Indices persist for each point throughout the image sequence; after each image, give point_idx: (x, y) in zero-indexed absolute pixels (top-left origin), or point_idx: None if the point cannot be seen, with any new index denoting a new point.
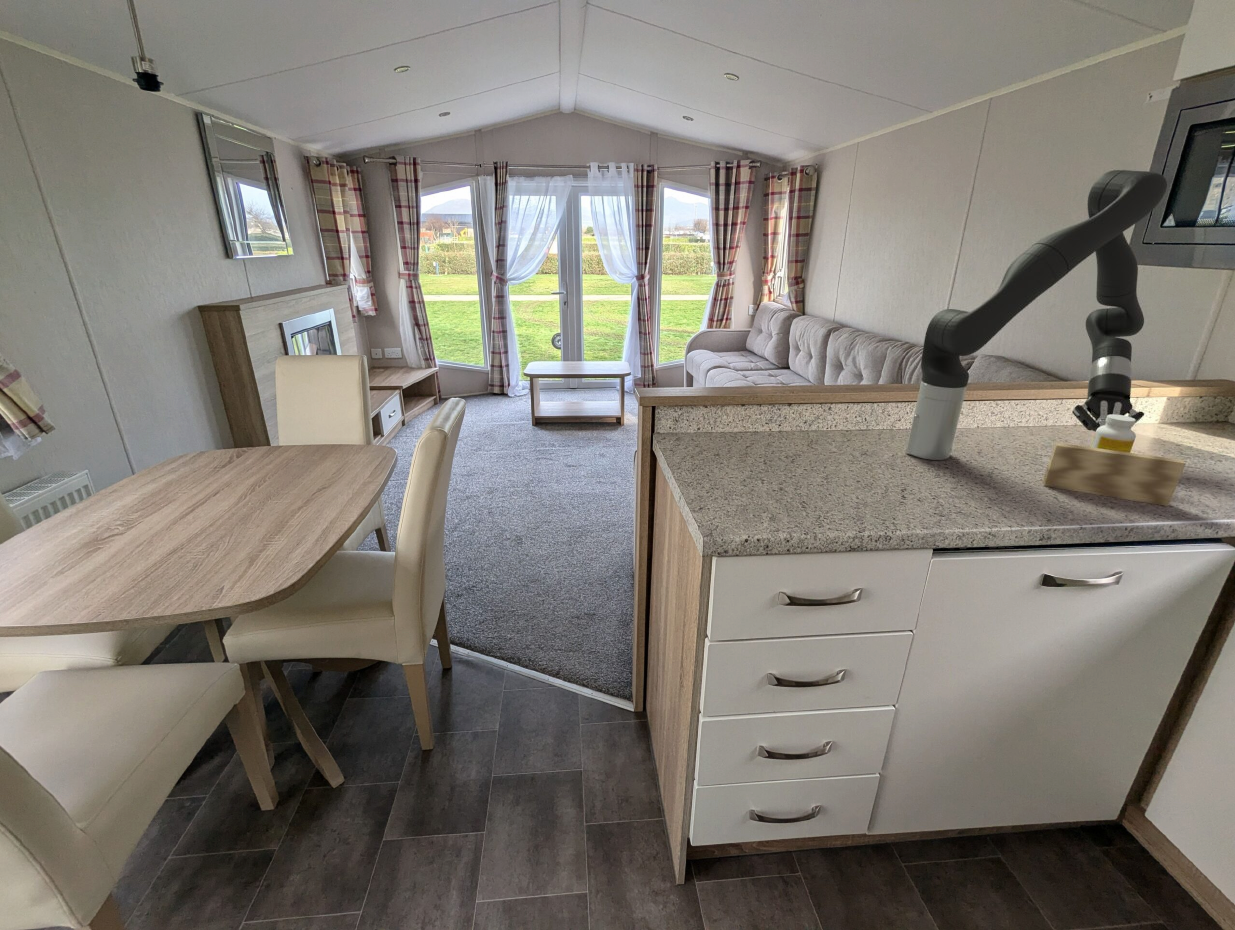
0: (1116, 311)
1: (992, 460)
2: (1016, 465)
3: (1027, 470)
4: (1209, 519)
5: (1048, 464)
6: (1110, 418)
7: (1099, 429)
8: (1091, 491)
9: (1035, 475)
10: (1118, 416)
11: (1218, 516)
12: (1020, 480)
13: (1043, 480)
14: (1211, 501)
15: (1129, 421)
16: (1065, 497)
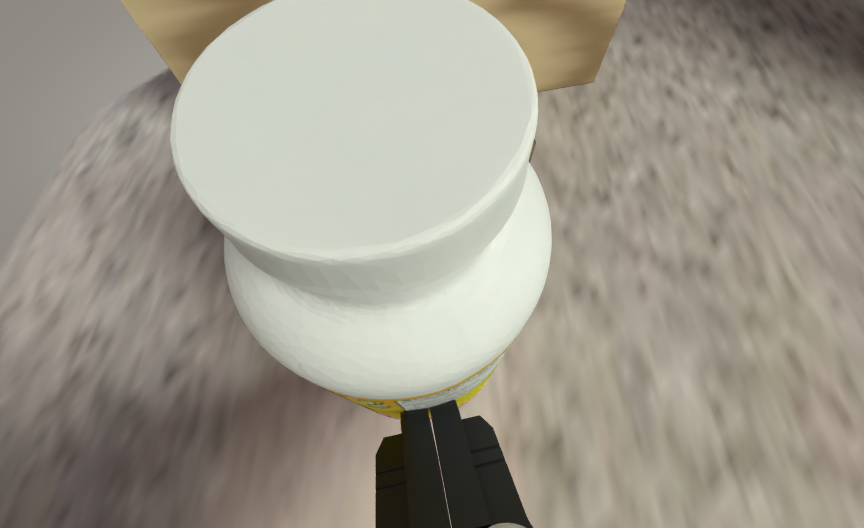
0: None
1: (842, 195)
2: (739, 197)
3: (679, 165)
4: (137, 89)
5: (622, 4)
6: (484, 21)
7: (528, 164)
8: None
9: (635, 131)
10: (389, 127)
11: (96, 127)
12: (655, 57)
13: (595, 72)
14: (45, 261)
15: (274, 5)
16: None
